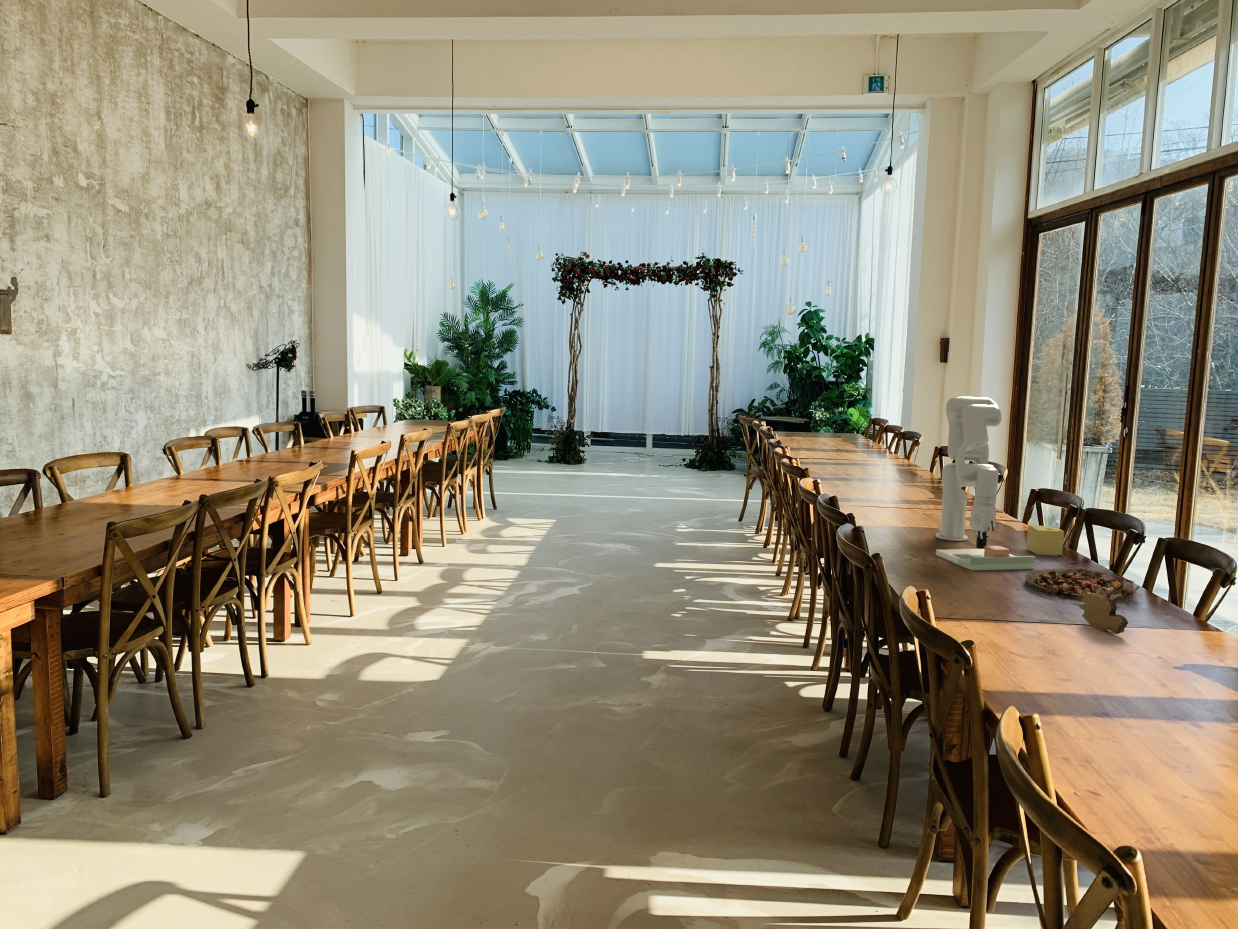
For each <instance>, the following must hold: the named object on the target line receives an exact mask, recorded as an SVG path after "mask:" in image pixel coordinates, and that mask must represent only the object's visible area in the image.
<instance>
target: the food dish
mask: <svg viewBox="0 0 1238 929" xmlns="http://www.w3.org/2000/svg"><path fill="white" fill-rule="evenodd" d="M1103 575H1106V573H1105V572H1103V571H1101V572H1100V571H1096V570H1090V569H1089V570H1087V569H1084V568H1079V567H1077V568H1043V569H1036V570H1034V569H1033V570H1030V571H1028V572H1026V573H1025V575H1024V580H1025V581H1024V582H1025V583H1026V586H1027V585H1028V586H1029V587H1030V588H1031V589H1033V590H1034V591H1036V592H1038V593H1042V594H1045V595H1049V596H1053V597H1059V598H1060V599H1063V600H1064V599H1065V600H1073V601H1080V602H1081V601H1082V602H1085V601H1084V597H1085V595H1086V594H1093V595H1094V594H1101V595H1105V596H1106V597H1108V598H1109V599H1110V600H1111V601H1114V602H1115V604H1120V603H1126V604H1127V603H1128V602H1129V601H1131V600H1132V598H1133V595H1134V593H1135V592H1136V591H1138V590H1139V589H1140V586H1139V585H1138V586H1136V588H1134V590H1130V589H1129V590H1128V584H1127V582H1128V583H1130V584H1134V583H1135V580H1134V581H1133V580H1130V579H1128V578H1122V577H1121V576H1118V575H1113V574H1110V573H1109V574H1108V576H1112V577H1113V578H1111V579H1109V578H1104V577H1103ZM1102 577H1103V578H1102ZM1121 580H1124V581H1125V582H1126V583H1121V582H1120V581H1121Z"/></svg>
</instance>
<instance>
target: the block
mask: <svg viewBox="0 0 1238 929" xmlns="http://www.w3.org/2000/svg"><path fill="white" fill-rule="evenodd" d="M1010 550H1011V549H1009V548H1006V547H1004V546H1001V545H986V546H985V549H984V557H1009V554H1010Z"/></svg>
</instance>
